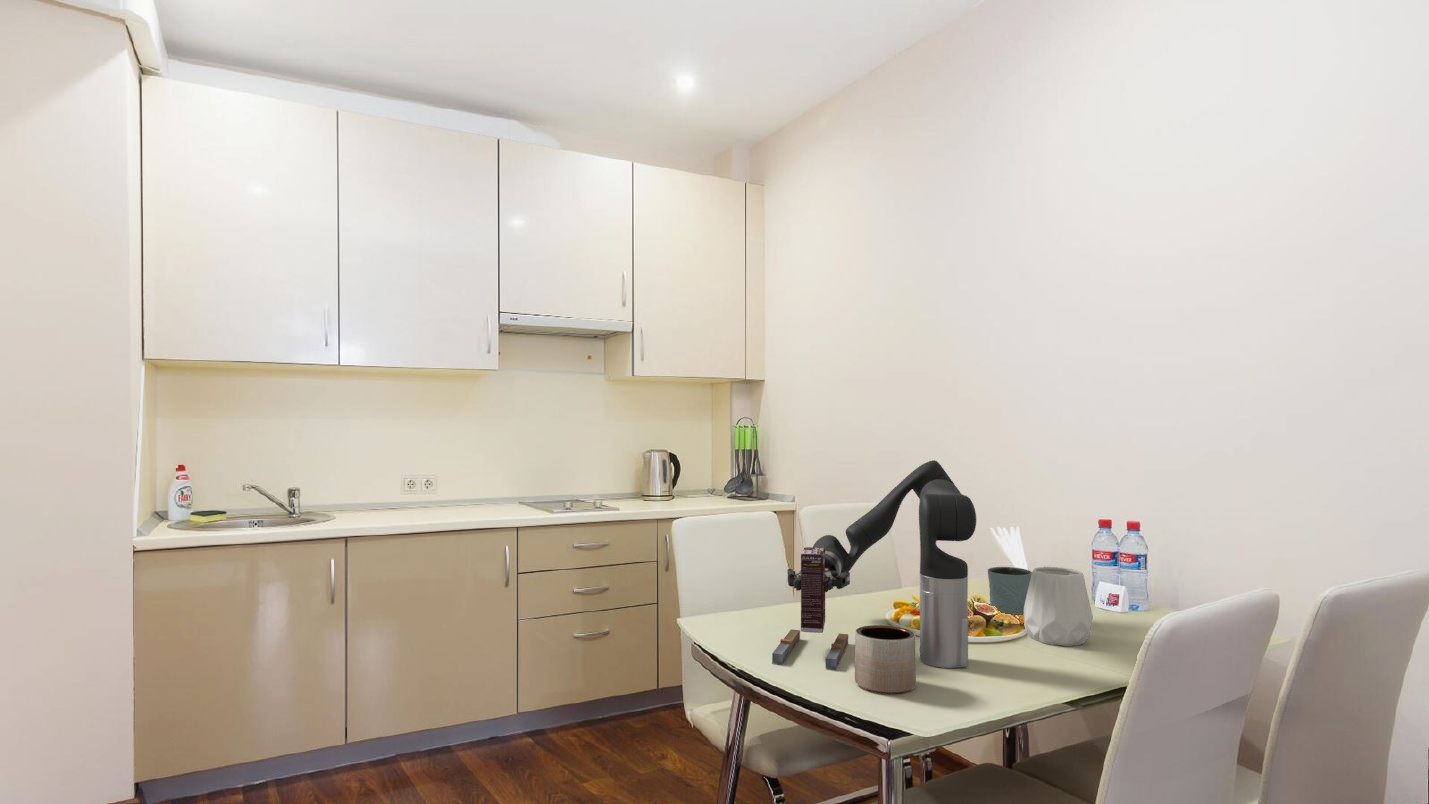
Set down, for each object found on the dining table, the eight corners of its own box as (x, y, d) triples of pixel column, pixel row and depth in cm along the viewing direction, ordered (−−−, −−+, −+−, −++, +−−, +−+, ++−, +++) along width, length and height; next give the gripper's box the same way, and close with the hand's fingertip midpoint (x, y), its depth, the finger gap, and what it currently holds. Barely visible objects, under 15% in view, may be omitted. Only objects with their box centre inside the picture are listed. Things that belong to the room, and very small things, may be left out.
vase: (1094, 636, 179) (1093, 568, 180) (1091, 652, 167) (1091, 579, 167) (1027, 628, 186) (1027, 563, 186) (1020, 643, 173) (1020, 573, 174)
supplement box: (824, 633, 161) (823, 554, 161) (800, 632, 162) (799, 554, 162) (826, 622, 169) (825, 547, 170) (803, 621, 170) (802, 546, 170)
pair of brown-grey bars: (848, 643, 172) (848, 631, 172) (835, 669, 153) (835, 656, 153) (790, 638, 175) (790, 626, 175) (772, 663, 157) (772, 650, 157)
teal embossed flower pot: (1026, 616, 197) (1026, 567, 198) (1036, 626, 187) (1036, 575, 188) (983, 614, 199) (984, 566, 199) (992, 624, 189) (992, 573, 189)
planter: (926, 685, 145) (926, 632, 145) (897, 700, 137) (897, 644, 137) (874, 672, 152) (874, 621, 153) (843, 685, 144) (843, 632, 145)
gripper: (855, 588, 178) (846, 606, 161) (791, 584, 181) (777, 602, 165) (855, 554, 178) (846, 569, 161) (791, 551, 181) (776, 566, 165)
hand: (811, 586), depth 163 cm, fingers closed on supplement box, 5 cm apart
